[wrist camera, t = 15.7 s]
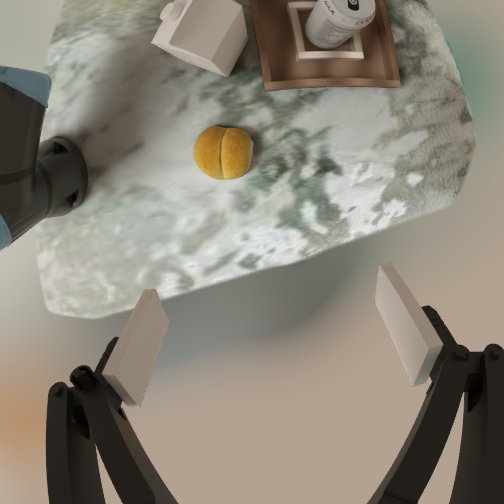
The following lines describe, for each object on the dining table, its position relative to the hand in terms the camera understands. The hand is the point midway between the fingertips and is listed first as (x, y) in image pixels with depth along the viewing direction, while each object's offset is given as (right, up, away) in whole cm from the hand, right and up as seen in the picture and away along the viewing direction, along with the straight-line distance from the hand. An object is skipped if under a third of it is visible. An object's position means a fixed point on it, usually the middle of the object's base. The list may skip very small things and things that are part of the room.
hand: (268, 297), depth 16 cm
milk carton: (-6, +33, +18) cm, 38 cm away
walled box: (+10, +35, +16) cm, 40 cm away
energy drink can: (+10, +35, +15) cm, 39 cm away
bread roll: (-5, +18, +26) cm, 32 cm away
